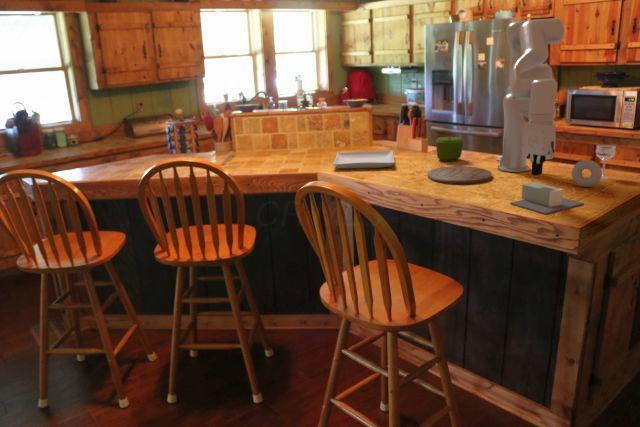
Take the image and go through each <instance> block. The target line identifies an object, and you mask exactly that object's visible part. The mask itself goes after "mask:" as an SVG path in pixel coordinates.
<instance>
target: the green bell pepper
mask: <svg viewBox="0 0 640 427" xmlns="http://www.w3.org/2000/svg"><path fill="white" fill-rule="evenodd" d="M463 146H464V141H463V139H462V138H460V137H458V136H443V137H442V136H441V137H438V138H436V140H435V148H436V156H437V159H439V160H440V161H441V162H453V161H456V160H458V159H459V158H461V156H462V151H463Z"/></svg>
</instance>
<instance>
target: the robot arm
mask: <svg viewBox="0 0 640 427" xmlns="http://www.w3.org/2000/svg"><path fill="white" fill-rule="evenodd" d="M564 36H565V25H564V22H563V21H562V20H561V19H560V18H557V17H556V18H552V17H551V18H538V19H537V18H536V19H528V20H517V21H516V20H515V21H513V22H511V23H509V24H508V26H507V28H506V40H507V44H508V47H509V52H510V61H509V73H508V84H509V87H510V93H507V94H506V95H504V98H503V100H502V101H503V102H502V107H503V139H502V153H501V154H502V156H500V155H499V156H497V158H496V159H495V161H496V162H499V164H498V165H497V169H498V170H499V171H502V172H507V173H508V172H509V173H522V172H523V173H524V172H528V171H530V170H531V175H532V176H539V175H542V174H543V169H544V168H543V165H544V163H546V161H547V160H552V159H553V158H554V154H555V151H556V145H557V144H556V142H557V141H556V140H557V139H556V136H557V135H556V123H554V122H555V121H554V119H555V109H556V108H555V107H556V96H557V92H558V82H557V81H556V80H555V78H554V77H553V69H552V66H551V65H549V64H547V63H545V62H546V61H547V59H548V57H549V48H548V45H552V44H553V45H555V44H556V45H557V44H560V43H561V42H562V41H563V39H564ZM523 117H526V118H528V119H527V120H528V121H526V120H524V118H523ZM527 157H528V158H529V159H530V160H529V161H530V163H531V166H530V165H528V164H527ZM530 168H531V169H530Z"/></svg>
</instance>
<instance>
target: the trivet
mask: <svg viewBox="0 0 640 427" xmlns="http://www.w3.org/2000/svg"><path fill="white" fill-rule="evenodd" d="M492 175H493V173H492V172H491V171H490V170H488V169H486V168H482V167H475V166H465V165H463V166H462V165H458V166H454V165H453V166H442V167H437V168H433V169H431V170H429V171H428V172H427V178H428V179H429V180H430V181H432V182H435V183H439V184H445V185H456V184H457V185H464V184H465V186H466V185H467V186H468V185H477V184H483V183H486V182H489V181H490V180H491V179H492V177H493V176H492Z"/></svg>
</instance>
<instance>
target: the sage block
mask: <svg viewBox="0 0 640 427" xmlns="http://www.w3.org/2000/svg"><path fill="white" fill-rule="evenodd" d="M563 196H564V189H563V188H560V187H559V188H558V187H555V186H549V185H546V184H542V183H538V182H534V181H532V182H528V183H523V184H522V187H521V200H528V201H531V202H535V203H539V204H542V205H546V206H549V207H553V206H557V205H561V204H562V198H564V197H563Z"/></svg>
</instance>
